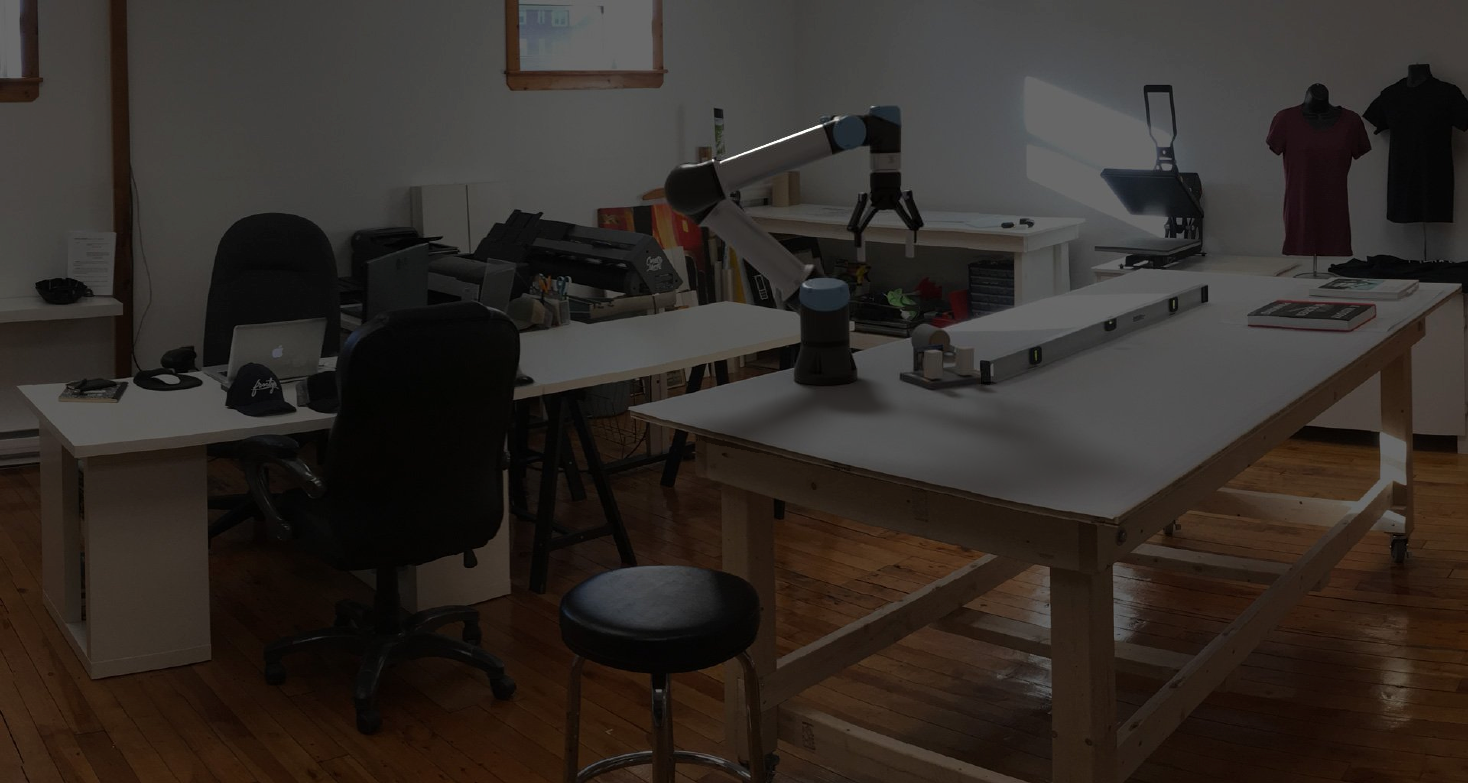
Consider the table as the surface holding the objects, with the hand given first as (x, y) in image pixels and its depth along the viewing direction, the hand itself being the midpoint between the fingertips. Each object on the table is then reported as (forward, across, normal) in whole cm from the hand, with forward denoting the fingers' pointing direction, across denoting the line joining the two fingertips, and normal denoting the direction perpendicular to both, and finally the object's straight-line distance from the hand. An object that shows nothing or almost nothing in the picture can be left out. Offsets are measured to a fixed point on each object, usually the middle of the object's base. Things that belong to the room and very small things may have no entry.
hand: (885, 259), depth 314 cm
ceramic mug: (+27, +19, +8) cm, 34 cm away
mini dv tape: (+27, +7, -9) cm, 29 cm away
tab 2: (+25, +6, -25) cm, 36 cm away
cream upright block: (+25, -2, -25) cm, 35 cm away
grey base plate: (+27, +4, -22) cm, 35 cm away
